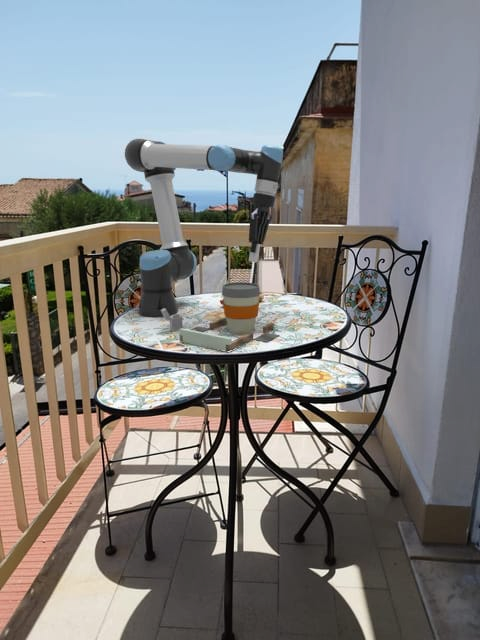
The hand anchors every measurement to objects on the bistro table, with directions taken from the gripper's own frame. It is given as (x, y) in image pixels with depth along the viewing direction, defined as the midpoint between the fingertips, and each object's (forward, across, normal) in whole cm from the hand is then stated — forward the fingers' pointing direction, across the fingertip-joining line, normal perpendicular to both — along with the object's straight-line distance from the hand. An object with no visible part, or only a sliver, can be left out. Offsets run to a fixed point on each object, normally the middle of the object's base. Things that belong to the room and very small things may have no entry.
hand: (252, 261), depth 152 cm
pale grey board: (+24, -33, -6) cm, 41 cm away
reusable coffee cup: (+22, -13, -7) cm, 26 cm away
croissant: (+21, +19, +10) cm, 30 cm away
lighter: (+26, -25, +12) cm, 38 cm away
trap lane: (+22, -20, -7) cm, 30 cm away
